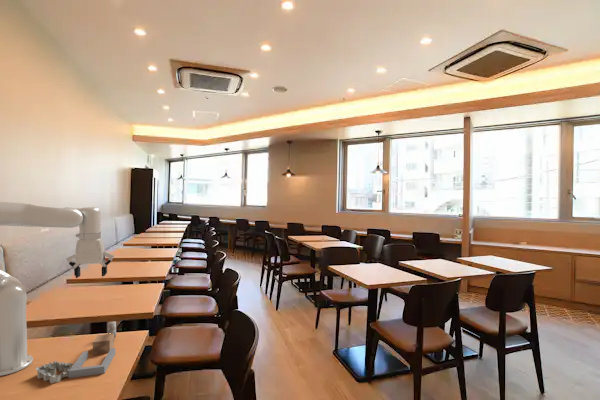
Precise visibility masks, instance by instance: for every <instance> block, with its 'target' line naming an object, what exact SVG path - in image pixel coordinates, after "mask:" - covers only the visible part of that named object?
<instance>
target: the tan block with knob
mask: <svg viewBox="0 0 600 400" xmlns="http://www.w3.org/2000/svg"><path fill="white" fill-rule="evenodd" d="M109 333H111V334H109ZM116 336H117V321H115V320H114V321H109V322H107V334H105V333H104V334H98V335H97V336H96V337H95V338H94V339H93V341H92V355H101V354H108V353H109V351H110V349H111V348H114V346H115V337H116Z"/></svg>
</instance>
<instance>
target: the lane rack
mask: <svg viewBox="0 0 600 400" xmlns="http://www.w3.org/2000/svg"><path fill="white" fill-rule="evenodd" d="M115 355H116V347H113V348H111V349H110V351H109V353H106V356H105V358H104V359H103V361H102V362H101V364H97V365H89V366H83V365H84V364H85V362H86V361H87V360H88V358H89V351H88V350H87V351H83V352H82V353H81V354H80V356H79V357H78V358H77V360H76V361H75V362H74V363H73V364H74V365H73V366H72V367H71V369H70V370H69V377H68V379H73V378H80V377H88V376H95V375H103V374H105V373H106V371H107V370H108V368H109V366H110V365H111V363H112V361H113V359H114V357H115ZM82 366H83V367H82Z"/></svg>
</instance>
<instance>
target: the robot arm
mask: <svg viewBox="0 0 600 400" xmlns="http://www.w3.org/2000/svg"><path fill="white" fill-rule="evenodd" d="M101 221H102V220H101V209H100V208H99V207H95V206H91V207H85V206H84V207H81V208H79V207H53V206H51V207H49V206H42V205H35V204H31V203H24V202H23V203H22V202H21V203H20V202H7V201H6V202H5V201H0V226H3V227H4V226H6V227H7V226H8V227H29V228H30V227H31V228H33V227H34V228H37V227H39V228H40V227H41V228H64V229H67V228H69V229H70V228H71V229H73V228H76V227H79V229H78V230H79V231H78V233H75V238H78V239H77V240H76V245H75V253H74V254H72V255H70V256H68V257H67V258H66V261H67V263H68V264H69V265H70V266H71V267H72V269H73V272H74V273H73V274H74V276H75V279H78V278H80V276H81V267H80V265H95V264H100V265H101V266H102V267H101V277H105V276H106V274H108V265H109V264H110V263H111V262H112V261H113V259H114V254H111V253H108V252H106V250H105V244H104V239H103V238H102V230H101V229H102V228H101ZM106 257H107V258H108V259H107V261H106ZM73 259H74V261H73ZM27 301H28V295H27V290H26V288H25V286H24V285H23V284H22V283H21V281H20V280H19V279H18V278H17V277H15V276H13V275H11V274H9V273H8V272H5V271H4V270H2V269H0V377H1V376H7V375H9V374H10V375H11V374H13V373H17V372H19V371H21V370H23V369H26V368H27V367H29V366H30V365H31V364H32V363H33V360H34V357H33V356H32V355H30V354H28V336H27V335H28V333H27V332H28V331H27V329H28V328H27V327H28V326H27Z"/></svg>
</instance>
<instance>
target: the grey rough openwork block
mask: <svg viewBox="0 0 600 400" xmlns="http://www.w3.org/2000/svg"><path fill="white" fill-rule="evenodd" d="M73 365H74V363H73V362H63V361H62V362H60V361H59V362H58V361H57V360H55V361H53V362H49V363H46V364H43V365H41V366H39V367H35V370H36V371H37V379H39V380H40V379H43V381H44V382H46V381H49V384H53V383H59V382H61V381H62V379H63V378H69V370H70V369H71V367H72V366H73ZM57 369H58V372H61V373H60V374H57Z"/></svg>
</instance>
